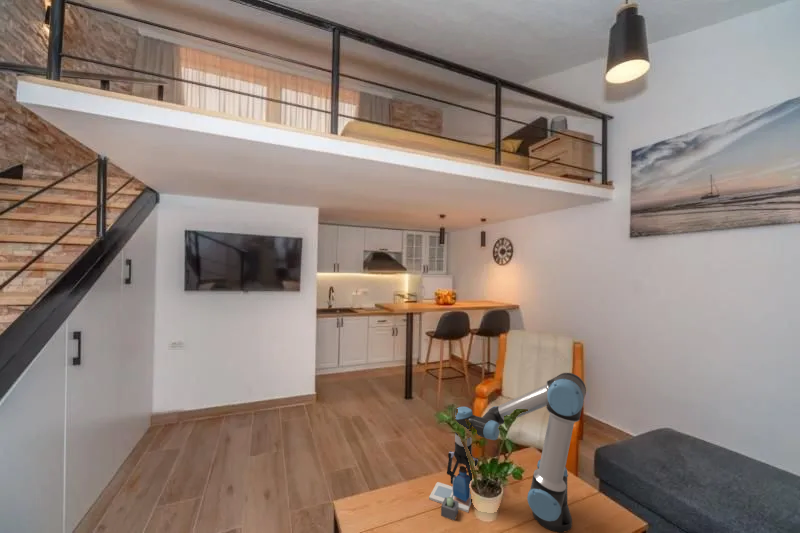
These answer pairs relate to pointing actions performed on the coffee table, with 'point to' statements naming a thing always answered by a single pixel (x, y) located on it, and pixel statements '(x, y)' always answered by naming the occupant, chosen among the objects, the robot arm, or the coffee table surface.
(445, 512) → the button housing
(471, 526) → the coffee table surface
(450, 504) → the button
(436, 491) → the picture board
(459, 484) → the perfume bottle
